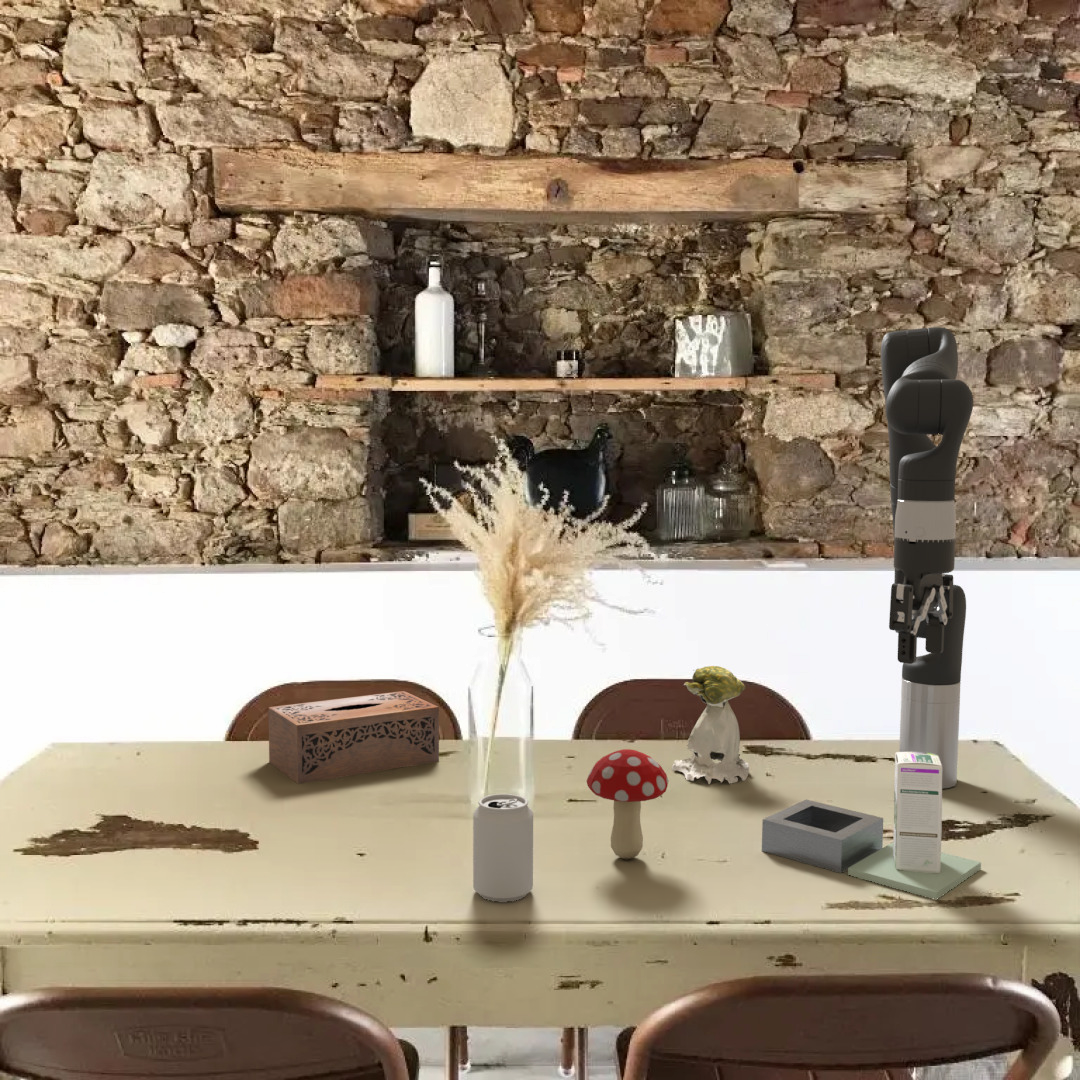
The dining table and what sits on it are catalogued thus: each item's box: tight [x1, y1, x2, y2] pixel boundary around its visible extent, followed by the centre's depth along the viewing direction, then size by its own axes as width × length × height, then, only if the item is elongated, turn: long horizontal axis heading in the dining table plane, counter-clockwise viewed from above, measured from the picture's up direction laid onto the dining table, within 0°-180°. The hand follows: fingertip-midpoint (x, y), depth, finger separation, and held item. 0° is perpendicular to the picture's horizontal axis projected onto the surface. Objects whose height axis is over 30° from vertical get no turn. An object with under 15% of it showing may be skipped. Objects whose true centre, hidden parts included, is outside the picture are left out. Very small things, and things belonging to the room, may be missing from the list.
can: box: [472, 793, 534, 903], centre depth 146 cm, size 8×8×12 cm
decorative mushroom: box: [586, 748, 669, 860], centre depth 158 cm, size 11×11×15 cm
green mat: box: [847, 841, 982, 900], centre depth 154 cm, size 14×12×1 cm
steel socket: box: [761, 799, 884, 874], centre depth 162 cm, size 12×12×4 cm
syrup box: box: [892, 751, 943, 873], centre depth 153 cm, size 6×6×14 cm
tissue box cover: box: [267, 690, 440, 785], centre depth 203 cm, size 26×14×10 cm, turn 121°
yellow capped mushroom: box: [671, 665, 750, 785], centre depth 197 cm, size 12×13×18 cm
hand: (920, 657), depth 153 cm, fingers open, 8 cm apart
